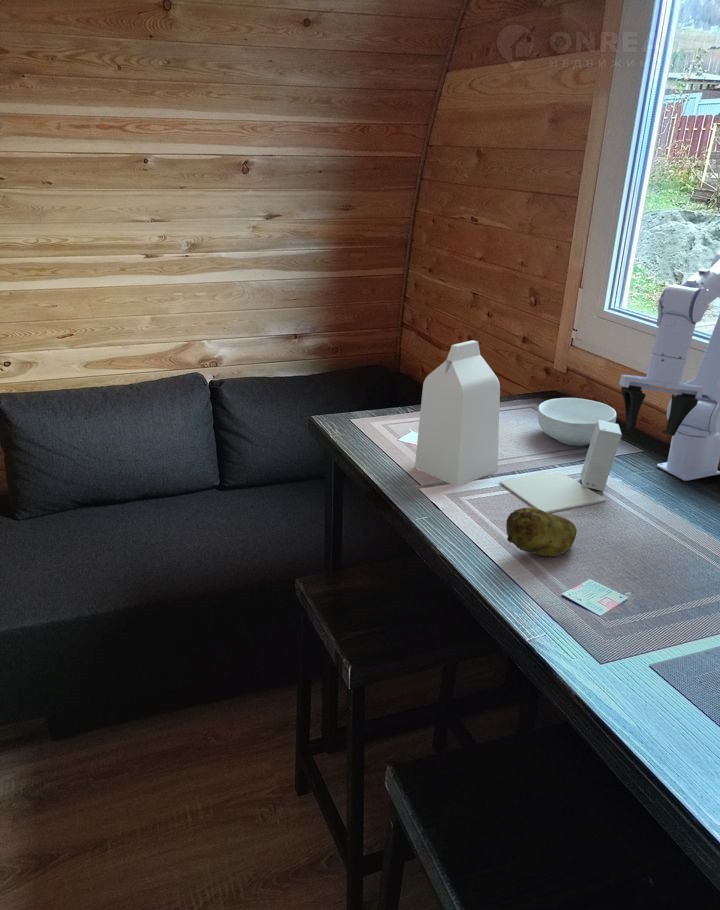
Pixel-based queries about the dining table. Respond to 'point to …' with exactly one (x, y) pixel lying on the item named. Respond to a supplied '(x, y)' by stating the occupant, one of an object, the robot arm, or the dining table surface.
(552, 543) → the potato
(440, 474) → the milk
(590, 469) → the skincare box
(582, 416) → the cereal bowl
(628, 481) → the dining table surface
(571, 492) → the mat
